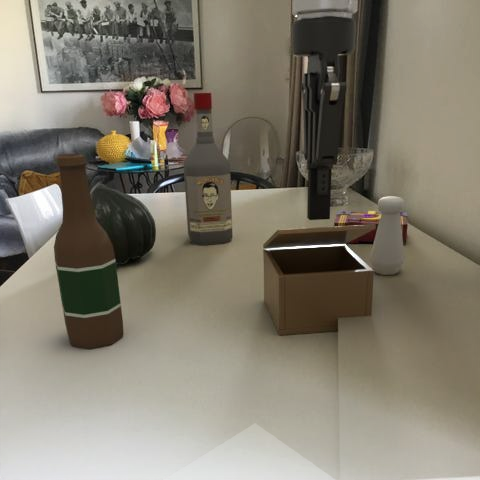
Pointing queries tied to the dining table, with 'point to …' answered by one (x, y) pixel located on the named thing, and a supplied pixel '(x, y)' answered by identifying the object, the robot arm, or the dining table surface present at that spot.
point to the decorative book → (367, 223)
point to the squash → (124, 223)
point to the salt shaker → (388, 237)
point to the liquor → (207, 182)
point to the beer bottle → (85, 263)
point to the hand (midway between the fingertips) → (318, 218)
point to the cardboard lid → (316, 236)
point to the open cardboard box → (315, 287)
